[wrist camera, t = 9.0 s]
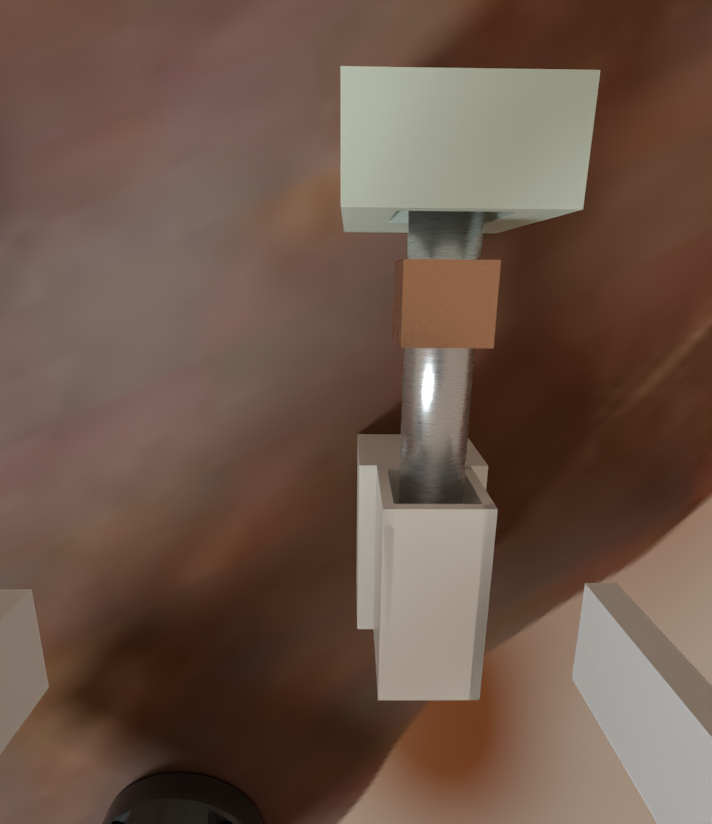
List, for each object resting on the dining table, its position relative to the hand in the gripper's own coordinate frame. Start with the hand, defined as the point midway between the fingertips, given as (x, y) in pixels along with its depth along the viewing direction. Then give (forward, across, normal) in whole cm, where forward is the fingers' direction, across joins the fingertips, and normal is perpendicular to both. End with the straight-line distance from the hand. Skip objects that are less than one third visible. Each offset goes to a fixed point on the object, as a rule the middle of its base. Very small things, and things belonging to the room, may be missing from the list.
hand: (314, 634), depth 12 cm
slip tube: (+17, -6, -5) cm, 19 cm away
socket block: (+24, -6, -14) cm, 28 cm away
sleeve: (+24, -6, +8) cm, 26 cm away
